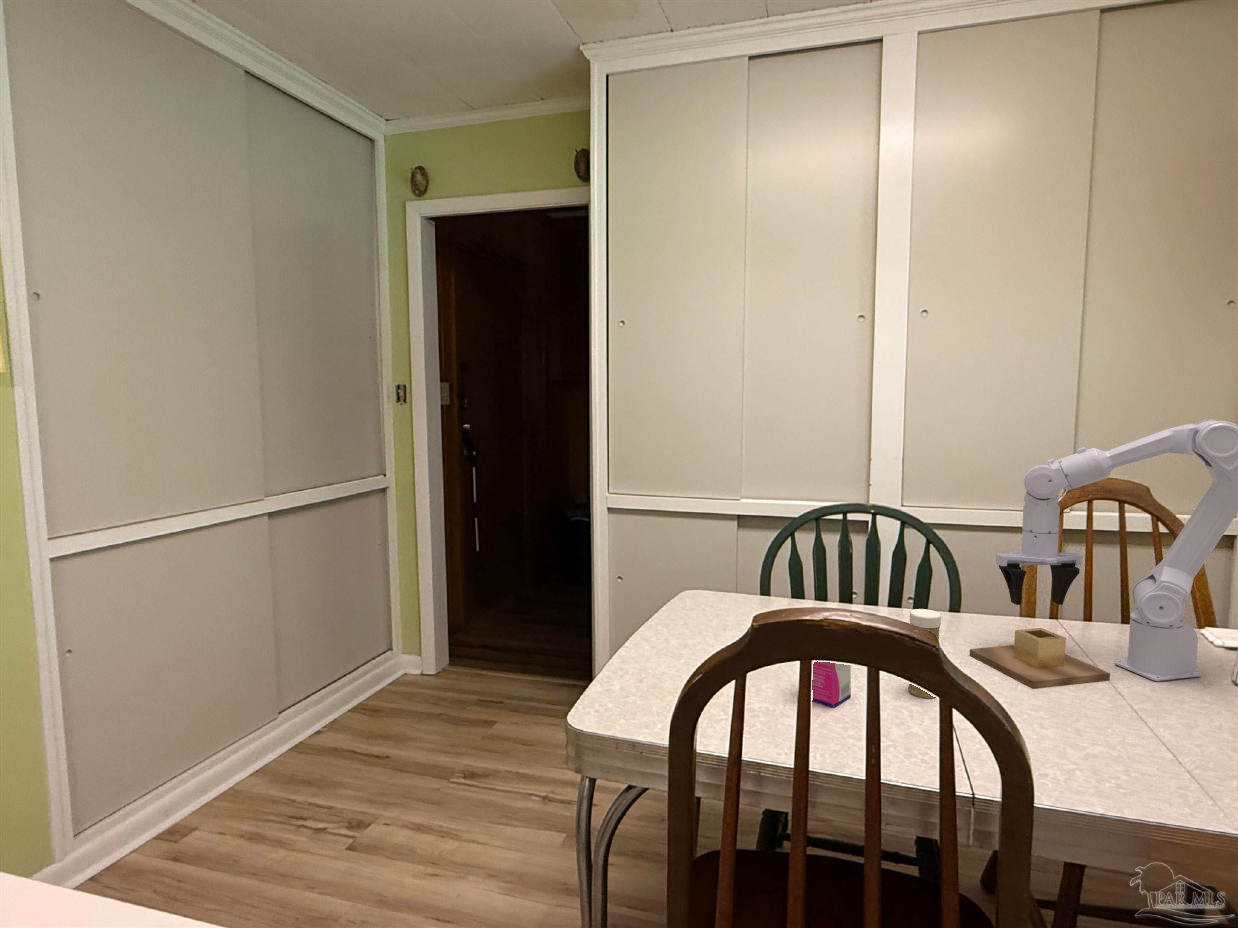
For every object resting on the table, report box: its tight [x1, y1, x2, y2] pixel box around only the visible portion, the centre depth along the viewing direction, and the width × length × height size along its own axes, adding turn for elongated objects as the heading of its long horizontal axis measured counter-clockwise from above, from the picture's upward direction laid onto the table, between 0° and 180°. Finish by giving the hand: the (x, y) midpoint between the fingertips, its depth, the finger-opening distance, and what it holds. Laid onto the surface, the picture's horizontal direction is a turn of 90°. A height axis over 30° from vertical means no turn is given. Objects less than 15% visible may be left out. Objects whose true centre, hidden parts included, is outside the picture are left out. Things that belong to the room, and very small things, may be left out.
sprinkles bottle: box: [907, 608, 942, 699], centre depth 113 cm, size 5×5×13 cm
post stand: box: [969, 637, 1111, 689], centre depth 123 cm, size 15×15×5 cm
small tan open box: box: [1013, 627, 1067, 669], centre depth 123 cm, size 5×5×5 cm
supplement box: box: [812, 661, 852, 709], centre depth 111 cm, size 6×6×12 cm
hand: (1036, 603), depth 129 cm, fingers open, 7 cm apart
